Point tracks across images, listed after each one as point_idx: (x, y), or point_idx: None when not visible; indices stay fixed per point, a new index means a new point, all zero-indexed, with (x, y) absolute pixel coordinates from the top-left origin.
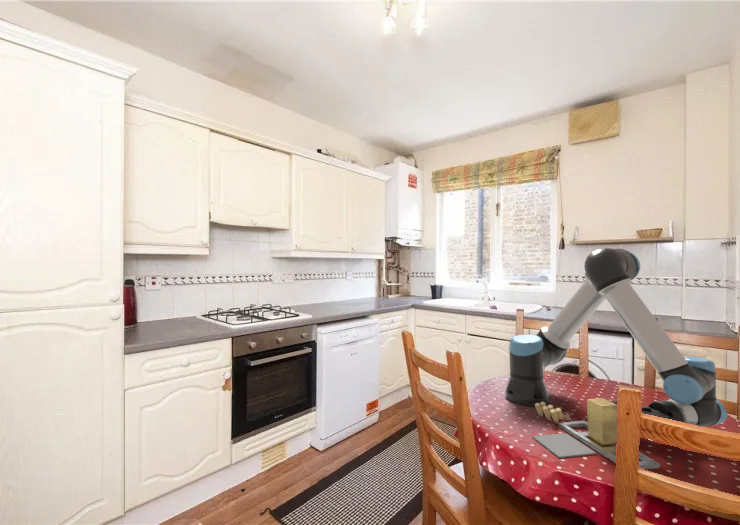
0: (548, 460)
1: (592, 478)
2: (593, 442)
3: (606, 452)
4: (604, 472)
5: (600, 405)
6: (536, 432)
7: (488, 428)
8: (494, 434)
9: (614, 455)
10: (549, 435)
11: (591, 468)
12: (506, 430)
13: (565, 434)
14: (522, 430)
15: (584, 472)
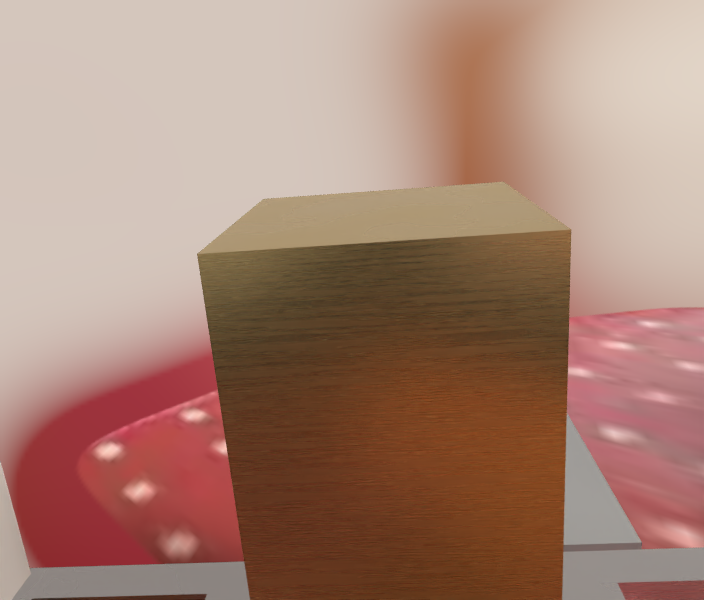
0: None
1: (124, 432)
2: None
3: (214, 567)
4: (116, 490)
5: (284, 198)
6: (637, 425)
7: (640, 317)
8: (574, 320)
9: (151, 591)
10: (572, 443)
11: (179, 463)
12: (632, 348)
13: (607, 525)
14: (652, 388)
15: (174, 429)
